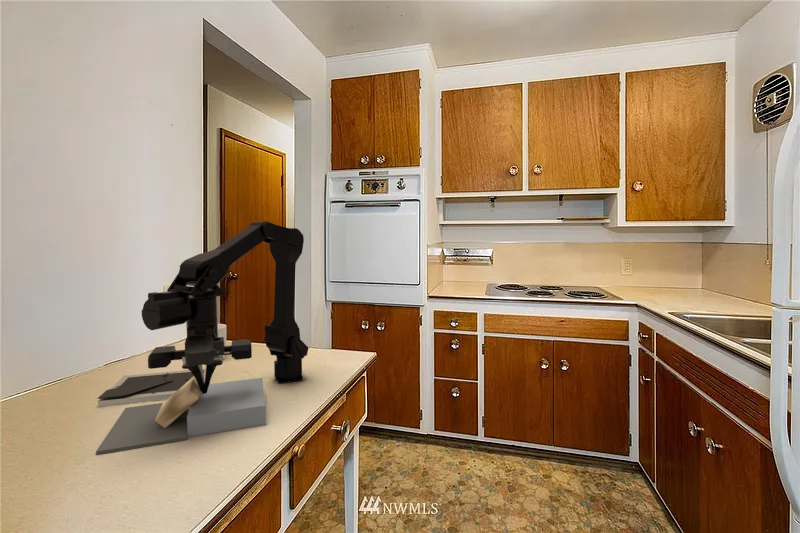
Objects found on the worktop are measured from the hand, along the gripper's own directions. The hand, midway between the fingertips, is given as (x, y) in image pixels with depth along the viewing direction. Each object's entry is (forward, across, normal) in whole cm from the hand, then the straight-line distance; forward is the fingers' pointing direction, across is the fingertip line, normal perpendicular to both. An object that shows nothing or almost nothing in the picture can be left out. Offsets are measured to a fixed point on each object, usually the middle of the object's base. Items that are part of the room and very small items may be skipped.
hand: (204, 393), depth 82 cm
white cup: (+5, -1, +40) cm, 40 cm away
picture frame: (+6, -12, +20) cm, 24 cm away
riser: (+5, +5, 0) cm, 7 cm away
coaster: (+2, -4, 0) cm, 4 cm away
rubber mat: (+5, -9, 0) cm, 11 cm away
